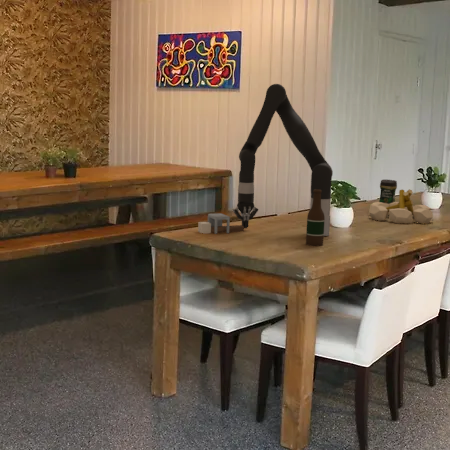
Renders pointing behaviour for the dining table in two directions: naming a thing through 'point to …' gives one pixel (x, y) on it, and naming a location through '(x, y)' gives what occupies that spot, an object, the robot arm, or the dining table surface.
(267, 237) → the dining table surface
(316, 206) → the beer bottle
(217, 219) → the tunnel
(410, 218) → the campfire
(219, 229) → the bar
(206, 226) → the block
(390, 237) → the dining table surface
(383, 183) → the coffee jar
